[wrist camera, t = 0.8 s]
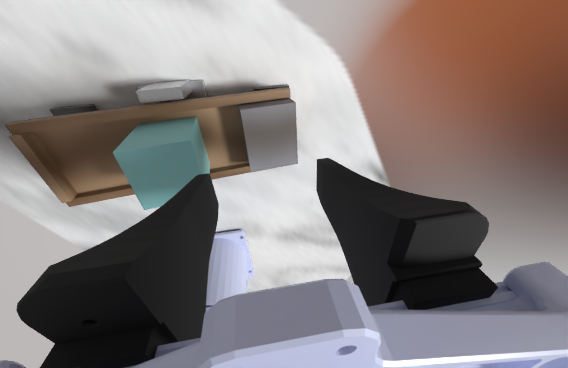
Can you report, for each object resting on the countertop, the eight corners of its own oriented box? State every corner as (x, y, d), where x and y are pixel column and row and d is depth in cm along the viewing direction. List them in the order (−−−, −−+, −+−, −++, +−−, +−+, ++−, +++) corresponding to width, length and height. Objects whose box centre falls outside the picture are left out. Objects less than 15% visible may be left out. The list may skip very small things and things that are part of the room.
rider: (209, 163, 19) (208, 196, 15) (159, 172, 18) (144, 209, 14) (196, 116, 16) (190, 140, 12) (138, 124, 16) (112, 152, 12)
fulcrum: (291, 157, 23) (297, 173, 20) (101, 181, 22) (80, 201, 19) (287, 70, 19) (294, 75, 16) (45, 93, 17) (8, 103, 14)
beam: (285, 152, 22) (298, 170, 19) (85, 188, 19) (59, 217, 16) (281, 83, 19) (295, 92, 16) (33, 113, 15) (-14, 132, 12)
